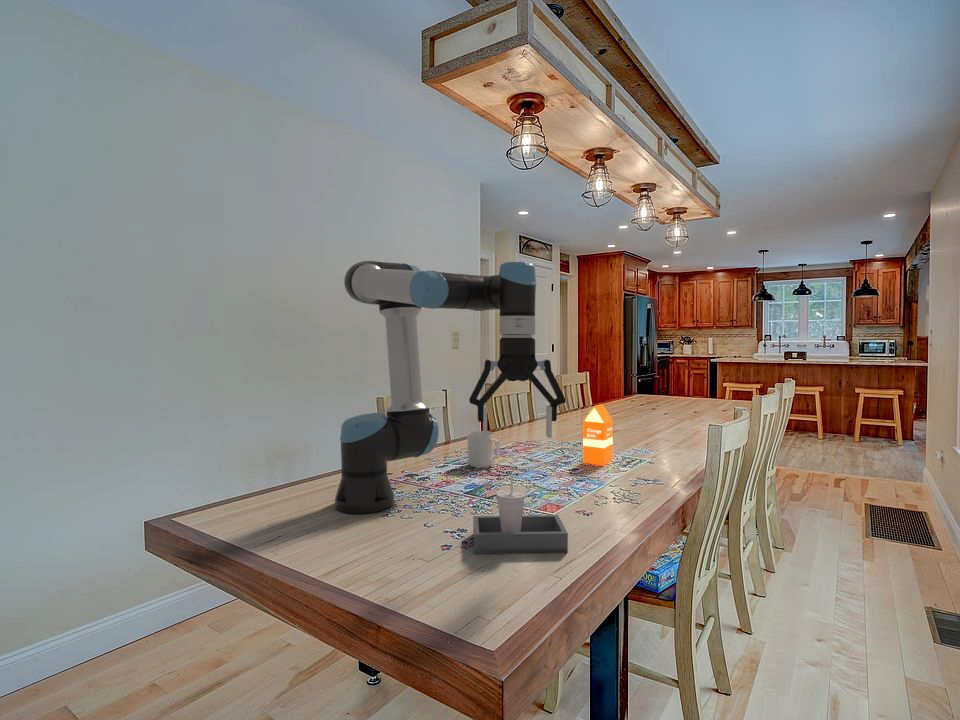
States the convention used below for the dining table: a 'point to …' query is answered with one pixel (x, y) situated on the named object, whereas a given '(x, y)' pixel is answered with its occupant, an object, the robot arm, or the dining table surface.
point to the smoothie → (510, 508)
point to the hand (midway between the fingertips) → (517, 437)
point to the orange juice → (597, 436)
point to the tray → (520, 535)
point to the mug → (481, 449)
